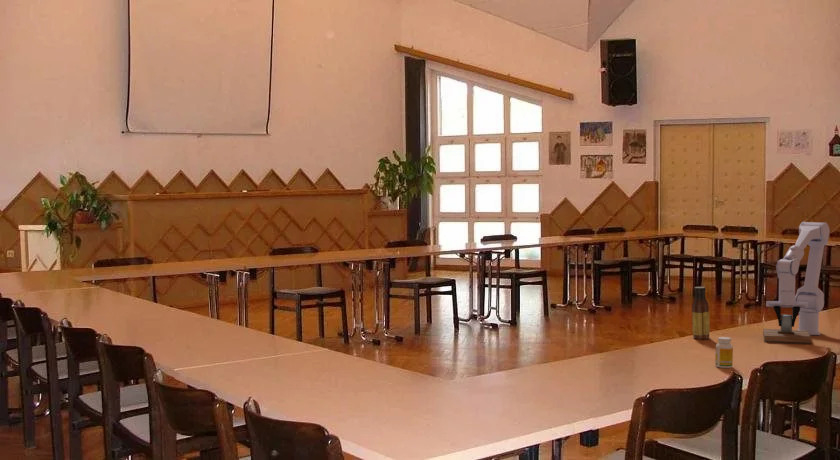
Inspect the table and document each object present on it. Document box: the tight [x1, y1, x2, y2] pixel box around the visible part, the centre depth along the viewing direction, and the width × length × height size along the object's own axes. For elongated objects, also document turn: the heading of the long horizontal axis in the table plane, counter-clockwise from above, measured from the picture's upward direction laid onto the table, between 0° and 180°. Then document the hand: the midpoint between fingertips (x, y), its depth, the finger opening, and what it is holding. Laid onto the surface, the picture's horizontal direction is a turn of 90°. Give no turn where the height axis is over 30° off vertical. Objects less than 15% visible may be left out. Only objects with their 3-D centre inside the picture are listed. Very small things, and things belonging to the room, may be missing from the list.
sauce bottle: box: [691, 286, 710, 340], centre depth 355 cm, size 7×6×20 cm
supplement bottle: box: [714, 336, 734, 369], centre depth 303 cm, size 5×5×10 cm
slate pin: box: [780, 314, 793, 332], centre depth 351 cm, size 4×4×6 cm
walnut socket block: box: [762, 328, 812, 345], centre depth 351 cm, size 16×16×2 cm
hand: (786, 326), depth 351 cm, fingers closed on slate pin, 4 cm apart
